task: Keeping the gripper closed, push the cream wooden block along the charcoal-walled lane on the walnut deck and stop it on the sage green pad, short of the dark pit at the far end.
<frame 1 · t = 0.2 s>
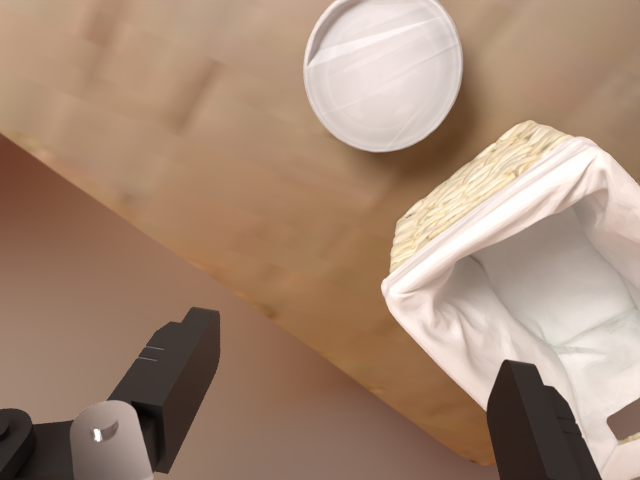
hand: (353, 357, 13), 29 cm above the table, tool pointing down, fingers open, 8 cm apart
storage basket: (529, 248, 42), on the table
ramekin: (382, 64, 37), on the table
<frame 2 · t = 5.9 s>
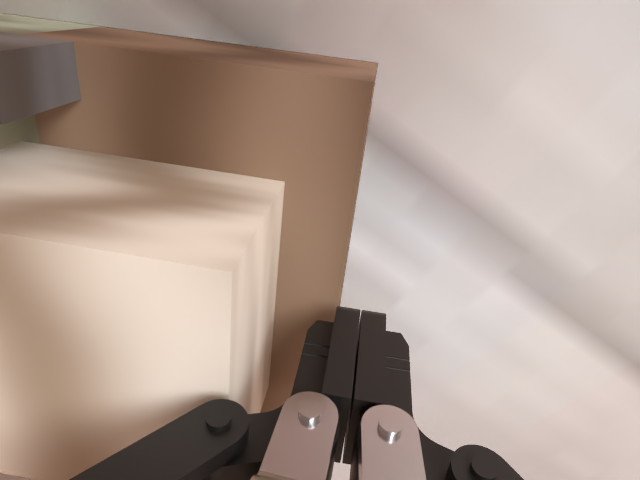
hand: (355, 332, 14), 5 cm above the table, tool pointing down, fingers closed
lane: (19, 195, 19), on the table
block: (158, 275, 15), point 4 cm above the table, touching gripper, lane
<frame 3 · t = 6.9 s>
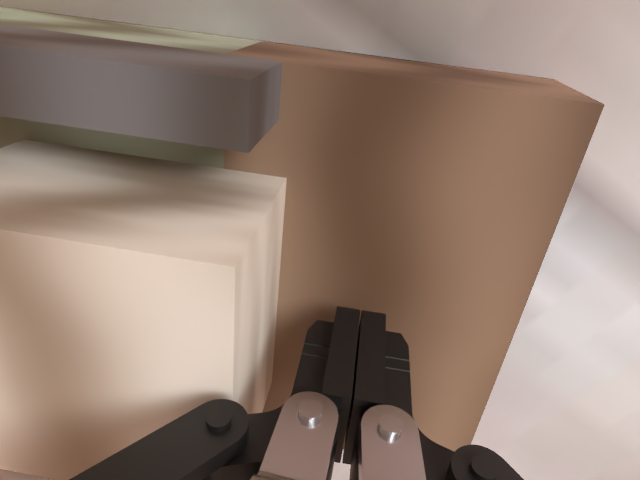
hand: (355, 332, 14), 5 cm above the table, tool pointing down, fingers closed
lane: (147, 210, 19), on the table
block: (160, 273, 15), point 4 cm above the table, touching gripper, lane
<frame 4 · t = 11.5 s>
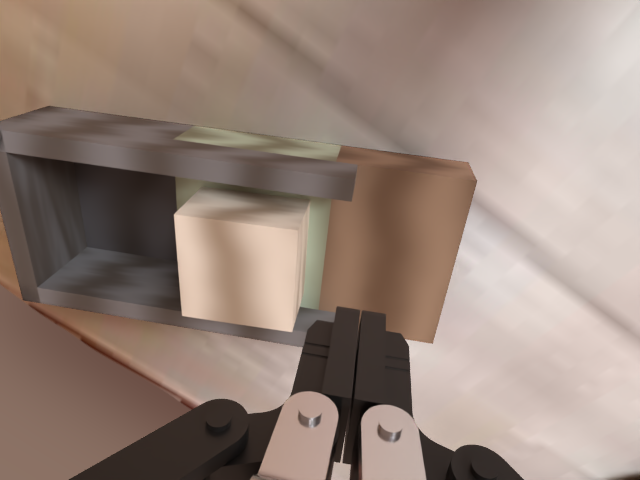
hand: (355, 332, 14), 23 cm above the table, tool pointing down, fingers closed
lane: (278, 219, 39), on the table
block: (255, 241, 35), point 4 cm above the table, touching lane
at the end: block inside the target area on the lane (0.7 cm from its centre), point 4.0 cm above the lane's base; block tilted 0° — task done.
